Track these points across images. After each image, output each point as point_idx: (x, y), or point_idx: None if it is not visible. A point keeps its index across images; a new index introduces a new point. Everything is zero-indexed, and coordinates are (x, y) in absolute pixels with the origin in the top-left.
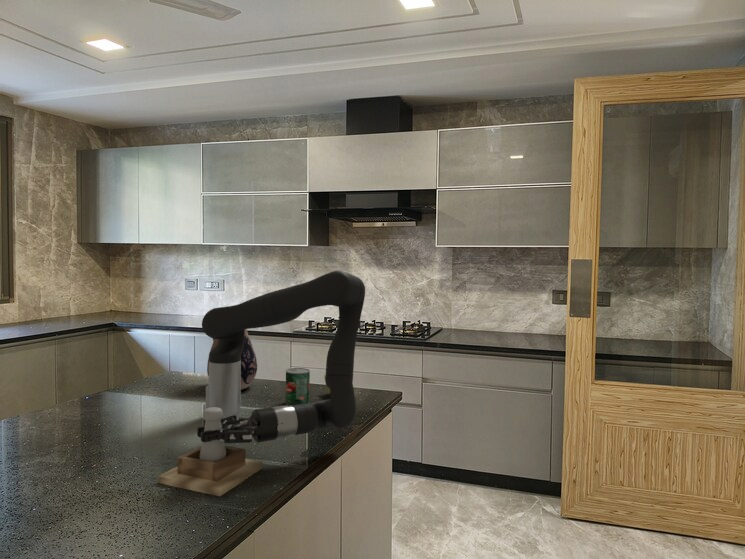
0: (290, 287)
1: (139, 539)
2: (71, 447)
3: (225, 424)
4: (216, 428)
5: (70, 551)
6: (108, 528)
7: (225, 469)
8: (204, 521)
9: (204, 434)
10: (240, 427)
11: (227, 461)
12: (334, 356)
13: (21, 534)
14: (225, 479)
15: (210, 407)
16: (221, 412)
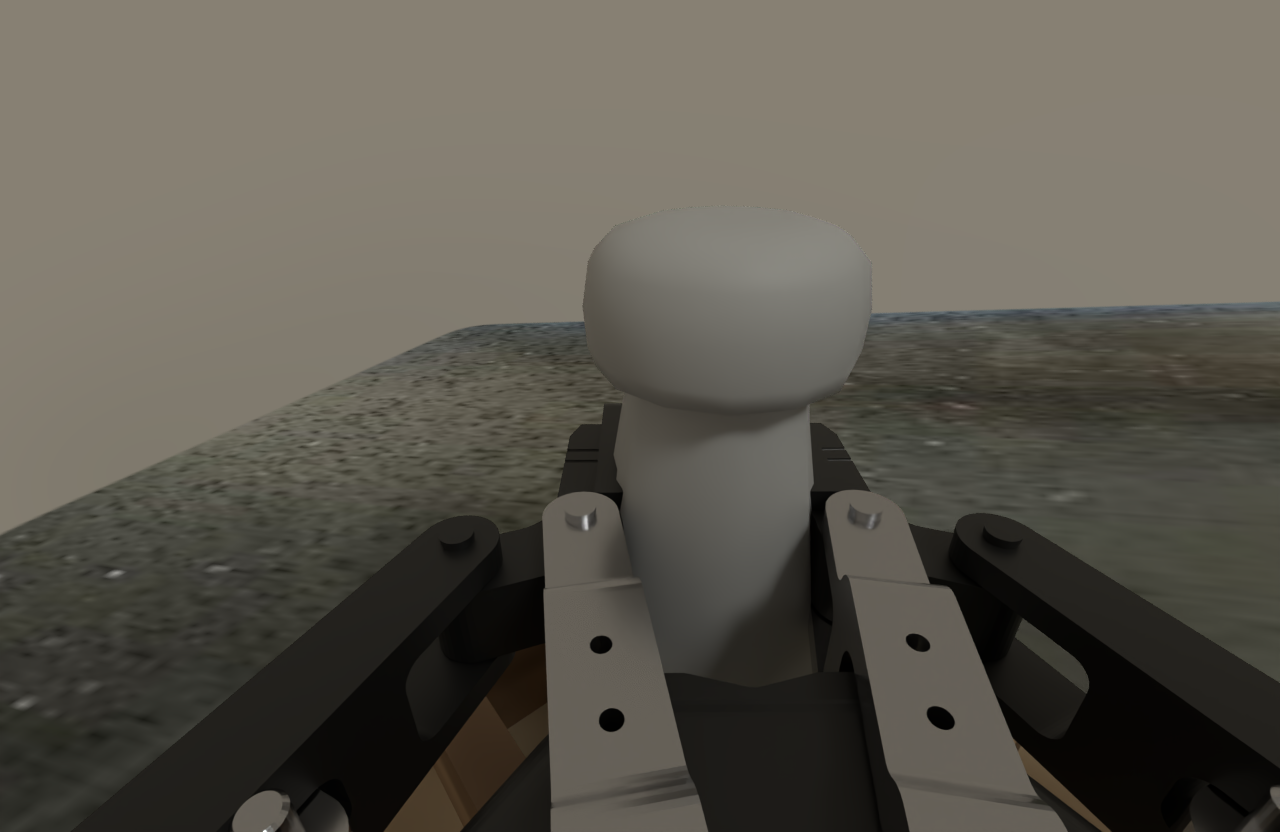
0: None
1: (265, 452)
2: (1152, 374)
3: (834, 603)
4: (622, 467)
5: (367, 371)
6: (414, 412)
7: (456, 793)
8: (126, 620)
9: (596, 425)
10: (520, 782)
11: (455, 777)
12: None
13: (528, 332)
14: (409, 814)
15: (808, 215)
16: (634, 297)
